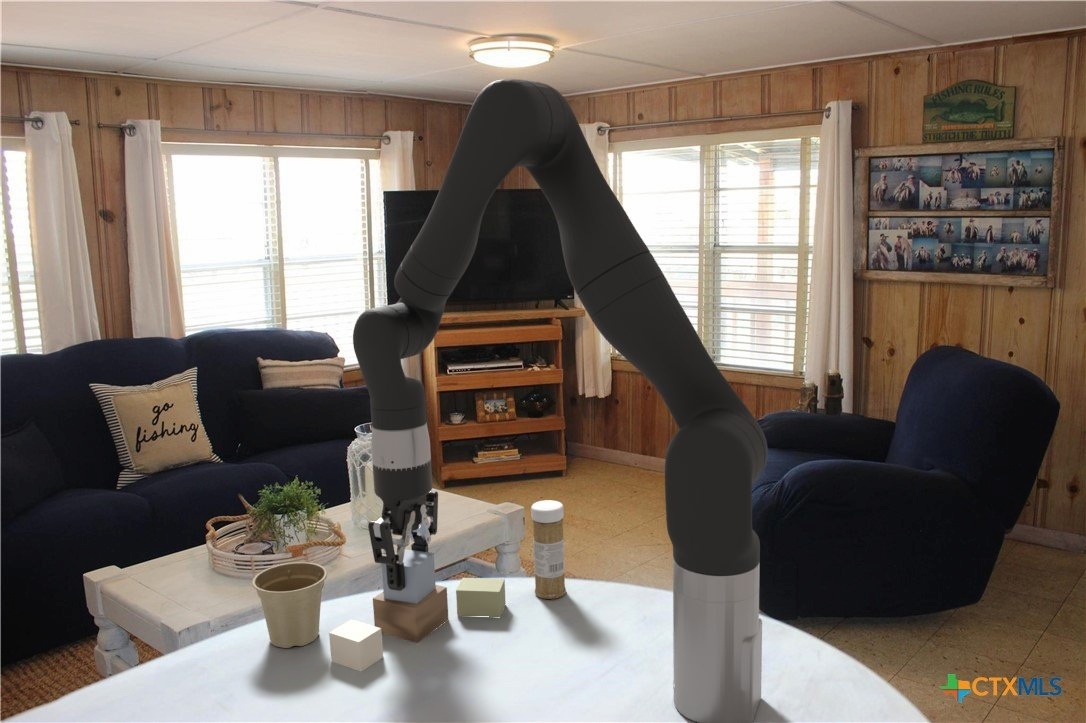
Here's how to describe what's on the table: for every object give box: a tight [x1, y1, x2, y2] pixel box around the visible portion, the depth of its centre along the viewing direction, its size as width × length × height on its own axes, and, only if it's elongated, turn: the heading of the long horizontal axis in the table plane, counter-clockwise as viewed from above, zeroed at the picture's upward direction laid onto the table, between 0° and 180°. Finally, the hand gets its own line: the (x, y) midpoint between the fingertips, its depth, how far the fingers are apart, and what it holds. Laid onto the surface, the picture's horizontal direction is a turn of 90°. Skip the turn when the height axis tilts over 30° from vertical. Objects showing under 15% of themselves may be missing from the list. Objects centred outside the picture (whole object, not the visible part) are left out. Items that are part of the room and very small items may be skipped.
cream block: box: [328, 618, 384, 672], centre depth 112 cm, size 5×4×4 cm
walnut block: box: [372, 584, 449, 644], centre depth 120 cm, size 7×7×5 cm
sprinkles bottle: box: [530, 499, 567, 600], centre depth 128 cm, size 5×5×13 cm
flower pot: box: [252, 561, 328, 649], centre depth 118 cm, size 9×9×9 cm
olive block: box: [455, 577, 506, 618], centre depth 124 cm, size 6×4×4 cm, turn 82°
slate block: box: [381, 548, 437, 604], centre depth 119 cm, size 5×5×5 cm
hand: (409, 578), depth 120 cm, fingers open, 5 cm apart
